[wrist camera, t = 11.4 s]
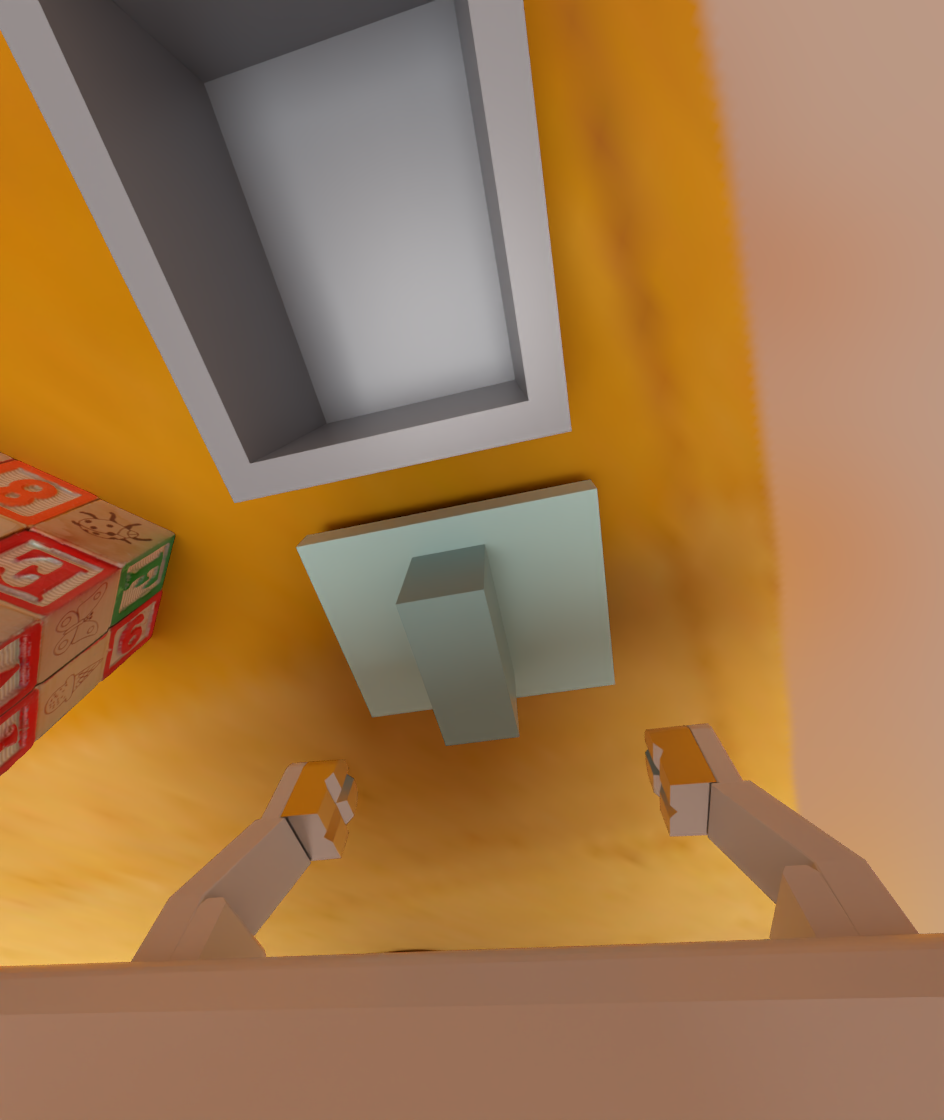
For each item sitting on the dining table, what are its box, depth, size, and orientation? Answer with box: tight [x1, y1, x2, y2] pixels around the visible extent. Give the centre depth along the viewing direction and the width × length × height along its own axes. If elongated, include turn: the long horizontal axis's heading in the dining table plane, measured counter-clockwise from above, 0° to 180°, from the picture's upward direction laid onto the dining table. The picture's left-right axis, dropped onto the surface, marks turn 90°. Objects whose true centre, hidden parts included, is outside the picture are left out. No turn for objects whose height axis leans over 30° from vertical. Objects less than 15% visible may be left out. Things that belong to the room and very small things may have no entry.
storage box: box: [0, 0, 572, 503], centre depth 10 cm, size 10×8×6 cm
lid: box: [296, 479, 615, 746], centre depth 16 cm, size 10×8×5 cm
